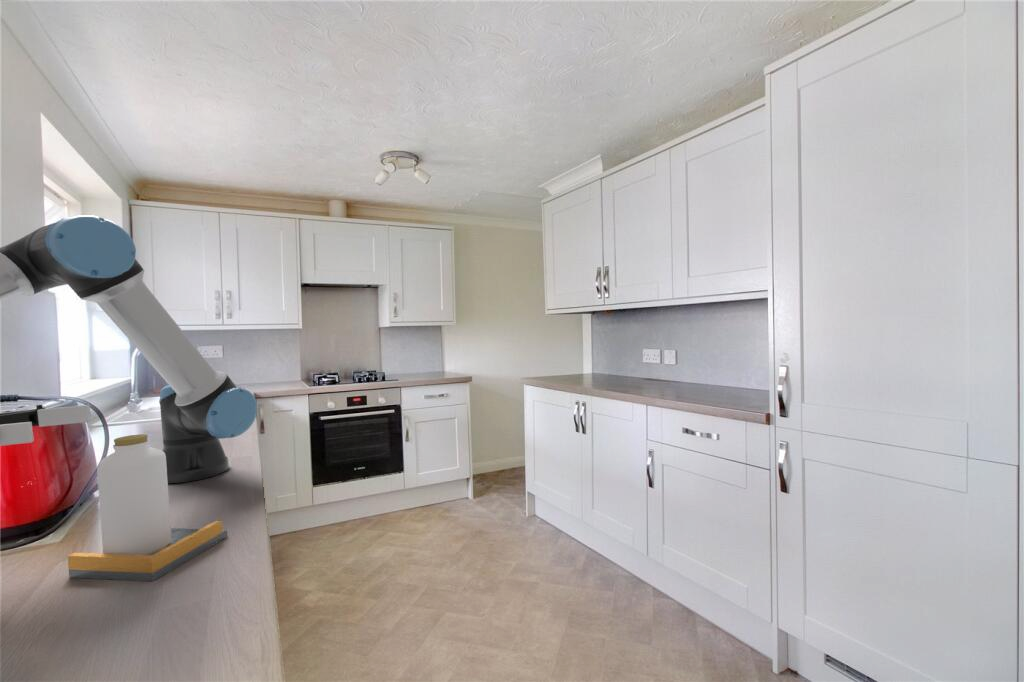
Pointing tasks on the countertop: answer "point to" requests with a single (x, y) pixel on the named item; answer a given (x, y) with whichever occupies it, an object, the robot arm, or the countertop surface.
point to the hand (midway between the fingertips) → (63, 421)
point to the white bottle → (134, 498)
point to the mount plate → (146, 557)
